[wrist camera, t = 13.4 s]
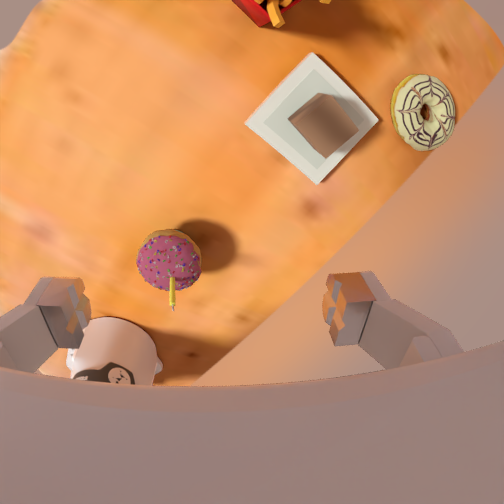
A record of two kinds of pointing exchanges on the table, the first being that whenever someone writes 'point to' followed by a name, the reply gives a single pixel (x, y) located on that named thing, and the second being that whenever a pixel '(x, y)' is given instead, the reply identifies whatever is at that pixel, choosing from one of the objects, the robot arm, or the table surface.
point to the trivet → (295, 96)
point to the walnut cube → (323, 124)
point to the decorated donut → (410, 120)
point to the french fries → (267, 10)
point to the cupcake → (169, 261)
